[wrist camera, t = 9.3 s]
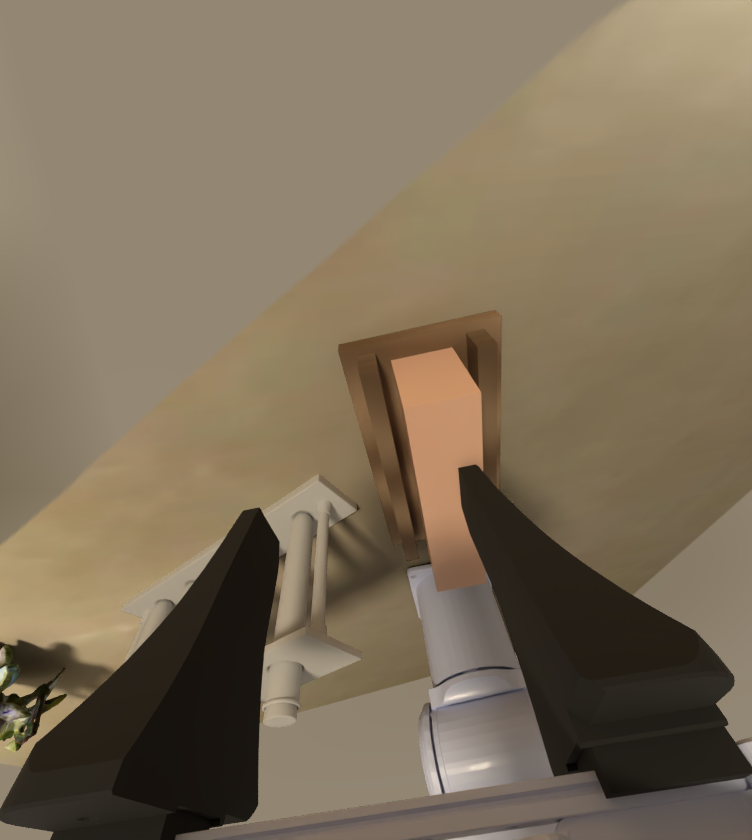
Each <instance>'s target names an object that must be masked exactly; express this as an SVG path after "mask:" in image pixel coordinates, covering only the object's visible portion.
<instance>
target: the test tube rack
mask: <svg viewBox="0 0 752 840" xmlns="http://www.w3.org/2000/svg"><path fill="white" fill-rule="evenodd" d="M356 511H357V504H356V503H355V502H354V501H353V500H351V499H350V498H349V497H348V496H346V495H345V494H344V493H342V492H341V491H340V490H339V489H337V488H336V487H335V486H334V485H332V484H331V483H330V482H329V481H327V480H326V479H325V478H324V477H322V476H321V475H320V474H318V475H316V476H315V477H313V478H312V479H310V480H309V481H307V482H306V483H304V484H303V485H301V486H300V487H298V488H297V489H295V490H294V491H292V492H291V493H289V494H288V495H286V496H285V497H283V498H282V499H280V500H279V501H277V502H276V503H274V504H273V505H271V506H269V507H268V508H266V509H265V510H263V511H262V513H263V514H264V516H265V518H266V519H267V521H268V523H269V524H270V526H271V528H272V530H273V531H274V533H275V535H276V536H277V538H278V540H279V541H280V547H279V557H280V556H281V555H283V554H285V553H286V552H287V554H286V561H285V568H284V574H283V581H282V588H281V594H280V601H279V608H278V615H277V621H276V628H275V635H274V641H273V643H271V644H269V645H267V646H265V651H264V662H263V674H262V687H261V702H263V701H265V703H264V704H263V706H262V710H263V711H264V712H265V714H264V719H263V724H264V725H266V726H269V727H284V726H289V725H291V724H293V723H295V722H296V718H297V710H299V709H300V702H299V698H300V687H301V685H302V684H305V683H307V682H310V681H312V680H314V679H317V678H319V677H321V676H324V675H326V674H328V673H331V672H333V671H335V670H338V669H340V668H342V667H345V666H347V665H349V664H352V663H354V662H356V661H359V660H361V651H359V650H357V649H355V648H353V647H350V646H348V645H346V644H344V643H342V642H340V641H338V640H336V639H333V638H331V637H329V636H327V628H326V625H325V609H326V584H327V559H328V534H329V527H330V526H332V525H334V524H335V523H337V522H339V521H340V520H342V519H344V518H346V517H347V516H349V515H351V514H352V513H354V512H356ZM315 535H317V541H316V555H315V569H314V583H313V597H312V611H311V625H310V626H309V627H308V626H306V615H307V603H308V591H309V579H310V567H311V555H312V543H313V536H315ZM226 536H227V535H226ZM226 536H224V537H223V538H221V539H220V540H218V541H217V542H215V543H214V544H212V545H211V546H209V547H208V548H206V549H205V550H203V551H202V552H200V553H199V554H197V555H196V556H194V557H193V558H191V559H190V560H188V561H186V562H185V563H183V564H182V565H180V566H179V567H177V568H176V569H174V570H173V571H171V572H170V573H168V574H167V575H165V576H164V577H162V578H161V579H159V580H158V581H156V582H155V583H153V584H152V585H150V586H149V587H147V588H146V589H144V590H143V591H141V592H140V593H138V594H137V595H135V596H134V597H132V598H131V599H129V600H128V601H126V602H125V603H124V604H123V606H122V608H121V611H124V612H126V613H129V614H132V615H135V616H137V617H140V618H142V620H141V623H140V624H141V625H140V628H139V630H138V632H137V634H136V636H135V639H134V641H133V643H132V645H131V648H130V650H129V652H128V654H127V656H126V659H125V661H124V663H125V662H126V661H127V660H128V659H129V657H130V656H131V655H132V654H133V653H134V652H135V651H136V650H137V649H138V648H139V647H140V646H141V645H142V644H143V643H144V642H145V640H146V639H147V638H148V637H149V636H150V635H151V634H152V633H153V632H154V631H155V630H156V629H157V627H158V626H159V625H160V624H161V623H162V622H163V620H164V619H165V618H166V617H167V616H168V615H169V613H170V612H171V611H172V610H173V609H174V607H175V606H176V605H177V604H178V603H179V601H180V600H181V599H182V597H183V596H184V595H185V594H186V592H187V591H188V590H189V588H190V587H191V586H192V584H193V583H194V582H195V580H196V579H197V577H198V576H199V575H200V573H201V572H202V571H203V569H204V568H205V567H206V565H207V564H208V562H209V561H210V559H211V558H212V556H213V555H214V553H215V552H216V551H217V549H218V548H219V546H220V545H221V543H222V542H223V540H224V539H225V537H226ZM124 663H123V664H124ZM302 665H303V666H302Z"/></svg>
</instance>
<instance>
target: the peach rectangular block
mask: <svg viewBox="0 0 752 840" xmlns="http://www.w3.org/2000/svg"><path fill="white" fill-rule="evenodd" d="M391 364H392V369H393V374H394V380H395V385H396V390H397V395H398V401H399V406H400V411H401V416H402V421H403V427H404V432H405V437H406V442H407V448H408V453H409V458H410V463H411V469H412V474H413V479H414V484H415V490H416V495H417V500H418V505H419V511H420V516H421V521H422V526H423V531H424V536H425V541H426V545H427V549H428V554H429V558H430V563H431V567H432V571H433V576H434V580H435V584H436V589H437V592H441V591H446V590H452V589H457V588H463V587H468V586H474V585H479V584H484V583H486V570H485V568H484V566H483V563H482V561H481V559H480V556H479V554H478V552H477V550H476V547H475V545H474V542H473V540H472V538H471V535H470V533H469V530H468V527H467V523H466V520H465V517H464V514H463V510H462V507H461V496H460V484H459V472H458V468H460V467H465V466H470V465H475V464H476V465H477V466H479V467H480V469H481V470H482V471H483V441H482V403H481V391H480V390H479V388H478V387H477V385H476V383H475V382H474V380H473V379H472V377H471V376H470V374H469V373H468V371H467V369H466V368H465V366H464V365H463V363H462V362H461V360H460V359H459V357H458V355H457V354H456V352H455V351H454V349H453V348H452V347H451V348H446V349H441V350H437V351H432V352H428V353H423V354H418V355H414V356H409V357H405V358H400V359H395V360H391Z"/></svg>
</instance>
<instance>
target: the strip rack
mask: <svg viewBox="0 0 752 840" xmlns="http://www.w3.org/2000/svg"><path fill="white" fill-rule="evenodd" d="M501 328H502V316H501V315H500V314H499V313H497V312H496V311H495V310H494V311H490V312H485V313H481V314H476V315H472V316H467V317H462V318H458V319H453V320H449V321H444V322H440V323H435V324H431V325H426V326H422V327H417V328H413V329H408V330H404V331H399V332H395V333H390V334H386V335H381V336H376V337H372V338H367V339H363V340H358V341H354V342H349V343H345V344H340V345H339V349H338V352H339V356H340V359H341V363H342V366H343V370H344V374H345V377H346V381H347V384H348V388H349V391H350V395H351V398H352V402H353V405H354V409H355V412H356V416H357V419H358V423H359V427H360V430H361V434H362V437H363V441H364V444H365V448H366V451H367V455H368V458H369V462H370V465H371V469H372V472H373V476H374V480H375V483H376V487H377V490H378V494H379V497H380V501H381V504H382V508H383V511H384V515H385V518H386V522H387V525H388V529H389V533H390V536H391V540H392V543H393V545H398V544H403V548H404V552H405V556H406V560H407V561H411V560H416V559H419V555H418V550H417V545H416V541H419V540H424V539H425V536H424V531H423V526H422V521H421V516H420V511H419V505H418V500H417V495H416V490H415V484H414V479H413V474H412V469H411V463H410V458H409V453H408V448H407V442H406V437H405V432H404V427H403V421H402V416H401V411H400V406H399V401H398V395H397V390H396V385H395V380H394V374H393V369H392V364H391V360H395V359H400V358H405V357H409V356H414V355H418V354H423V353H428V352H432V351H437V350H441V349H446V348H451V347H452V348H453V349H454V351H455V352H456V354H457V355H458V357H459V359H460V360H461V362H462V363H463V365H464V366H465V368H466V369H467V371H468V373H469V374H470V376H471V377H472V379H473V380H474V382H475V383H476V385H477V387H478V388H479V390H480V391H481V403H482V441H483V472H484V473H485V475H486V476H487V477H488V478H489V479H490V481H491V482H492V483H493V484H494V485H495V486H496V487H497V488H498V489H499V490H500V410H501Z"/></svg>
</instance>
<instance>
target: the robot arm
mask: <svg viewBox="0 0 752 840" xmlns="http://www.w3.org/2000/svg"><path fill="white" fill-rule="evenodd" d="M458 472H459V484H460V496H461V507H462V510H463V514H464V517H465V520H466V523H467V527H468V530H469V533H470V535H471V538H472V540H473V542H474V545H475V547H476V550H477V552H478V554H479V556H480V559H481V561H482V563H483V566H484V568H485V570H486V583H484V584H479V585H474V586H468V587H463V588H457V589H452V590H446V591H441V592H437V589H436V584H435V580H434V576H433V571H432V567H431V564H428V565H422V566H417V567H412V568H409V569H408V570H407V575H408V578H409V582H410V586H411V590H412V594H413V597H414V601H415V605H416V609H417V613H418V616H419V618H421V622H422V627H423V633H424V639H425V644H426V650H427V656H428V661H429V667H430V673H431V678H432V684H433V688H430V689H429V690H428V691H429V697H430V703H426V704H425V705H424V706H423V709H422V712H421V715H420V717H419V744H420V752H421V758H422V765H423V770H424V775H425V779H426V783H427V787H428V791H429V794H430V796H425V797H419V798H413V799H406V800H399V801H393V802H387V803H380V804H374V805H367V806H360V807H354V808H347V809H341V810H334V811H328V812H321V813H315V814H308V815H302V816H295V817H289V818H282V819H276V820H269V821H263V822H257V823H250V824H243V825H237V826H231V827H224V828H217V829H211V830H209V828H212V827H219V826H222V825H224V824H231V823H238V822H244V821H247V820H248V819H249V818H250V817H251V816H252V814H253V813H254V811H255V810H256V808H257V806H258V748H259V723H260V703H261V687H262V674H263V662H264V651H265V643H266V636H267V630H268V625H269V619H270V614H271V608H272V603H273V598H274V592H275V586H276V581H277V575H278V567H279V547H280V541H279V540H278V538H277V536H276V535H275V533H274V531H273V530H272V528H271V526H270V524H269V523H268V521H267V519H266V518H265V516H264V514H263V513H262V511H261V509H260V508H255V509H250V510H245V511H243V512H242V513H241V515H240V516H239V518H238V519H237V521H236V522H235V524H234V525H233V527H232V528H231V530H230V531H229V533H228V534H227V536H226V537H225V539H224V540H223V542H222V543H221V545H220V546H219V548H218V549H217V551H216V552H215V553H214V555H213V556H212V558H211V559H210V561H209V562H208V564H207V565H206V567H205V568H204V569H203V571H202V572H201V573H200V575H199V576H198V577H197V579H196V580H195V582H194V583H193V584H192V586H191V587H190V588H189V590H188V591H187V592H186V594H185V595H184V596H183V597H182V599H181V600H180V601H179V603H178V604H177V605H176V606H175V607H174V609H173V610H172V611H171V612H170V613H169V615H168V616H167V617H166V618H165V619H164V620H163V622H162V623H161V624H160V625H159V626H158V627H157V629H156V630H155V631H154V632H153V633H152V634H151V635H150V636H149V637H148V638H147V639H146V640H145V642H144V643H143V644H142V645H141V646H140V647H139V648H138V649H137V650H136V651H135V652H134V653H133V654H132V655H131V656H130V657H129V659H128V660H127V661H126V662H125V663H124V664H123V665H122V666H121V667H120V668H119V669H118V670H117V671H116V672H115V673H114V674H113V675H112V676H111V677H110V678H108V679H107V680H106V681H105V682H104V683H103V684H102V685H101V686H100V687H99V688H98V689H97V690H96V691H95V692H94V693H93V694H92V695H91V696H89V697H88V698H87V699H86V700H85V701H84V702H83V703H82V704H81V705H80V706H79V707H77V708H76V709H75V710H74V711H73V712H72V713H70V714H69V715H68V716H67V717H66V718H65V719H64V720H62V721H61V722H60V723H59V724H58V725H57V726H56V727H54V728H53V729H52V730H51V731H50V732H49V733H48V734H46V735H45V736H44V737H43V738H42V739H41V740H39V741H38V742H37V743H36V744H35V746H34V747H33V749H32V751H31V753H30V755H29V757H28V759H27V760H26V762H25V764H24V766H23V768H22V770H21V771H20V773H19V775H18V777H17V779H16V781H15V783H14V784H13V786H12V788H11V790H10V792H9V794H8V796H7V797H6V799H5V801H4V803H3V805H2V807H1V808H0V821H2V822H4V823H7V824H11V825H15V826H21V827H28V828H33V829H40V830H46V831H52V832H53V834H52V837H51V839H50V840H752V737H751V738H747V739H743V740H740V741H737V742H735V741H734V740H733V738H732V737H731V736H730V734H729V733H728V731H727V730H726V728H725V727H724V726H727V725H728V721H727V719H726V718H725V716H724V715H723V714H722V712H721V711H720V709H719V708H718V706H717V705H716V703H717V702H718V701H719V700H720V699H721V698H722V697H723V696H725V695H726V694H727V693H728V692H729V691H730V690H731V689H732V687H733V686H734V676H733V674H732V673H731V672H730V670H729V669H728V668H727V667H726V665H725V664H724V663H723V662H722V660H721V659H720V658H719V656H718V655H717V654H716V653H715V652H714V651H713V650H712V649H711V648H710V647H709V645H708V644H707V643H706V642H705V641H704V640H703V639H702V638H701V637H700V636H699V635H698V634H697V632H696V631H694V630H693V629H691V628H689V627H687V626H685V625H683V624H682V623H680V622H678V621H676V620H674V619H672V618H671V617H669V616H667V615H665V614H663V613H662V612H660V611H658V610H656V609H655V608H653V607H651V606H650V605H648V604H646V603H645V602H643V601H641V600H639V599H638V598H636V597H634V596H633V595H631V594H630V593H628V592H626V591H625V590H623V589H621V588H620V587H618V586H617V585H615V584H614V583H612V582H611V581H609V580H608V579H606V578H605V577H603V576H602V575H600V574H599V573H597V572H596V571H594V570H593V569H591V568H590V567H588V566H587V565H585V564H584V563H583V562H581V561H580V560H579V559H577V558H576V557H574V556H573V555H572V554H570V553H569V552H568V551H566V550H565V549H564V548H563V547H561V546H560V545H559V544H557V543H556V542H555V541H554V540H552V539H551V538H550V537H549V536H548V535H546V534H545V533H544V532H543V531H542V530H540V529H539V528H538V527H537V526H536V525H535V524H534V523H533V522H531V521H530V520H529V519H528V518H527V517H526V516H525V515H524V514H523V513H522V512H521V511H519V510H518V509H517V508H516V507H515V506H514V505H513V504H512V503H511V502H510V501H509V500H508V499H507V498H506V497H505V496H504V495H503V494H502V493H501V491H500V490H499V489H498V488H497V487H496V486H495V485H494V484H493V483H492V482H491V481H490V479H489V478H488V477H487V476H486V475H485V473H484V472H483V471H482V470H481V469H480V467H479V466H477V465H476V464H475V465H470V466H465V467H460V468H458ZM492 587H493V589H494V591H495V594H496V596H497V599H498V601H499V604H500V606H501V609H502V612H503V615H504V618H505V621H506V624H507V627H508V630H509V634H510V637H511V640H512V643H513V646H514V649H515V652H516V655H517V658H518V661H519V663H518V661H517V658H516V655H515V652H514V650H513V647H512V644H511V641H510V638H509V636H508V633H507V630H506V627H505V625H504V622H503V619H502V616H501V614H500V611H499V608H498V605H497V602H496V600H495V597H494V594H493V591H492ZM519 665H520V666H519Z"/></svg>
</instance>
